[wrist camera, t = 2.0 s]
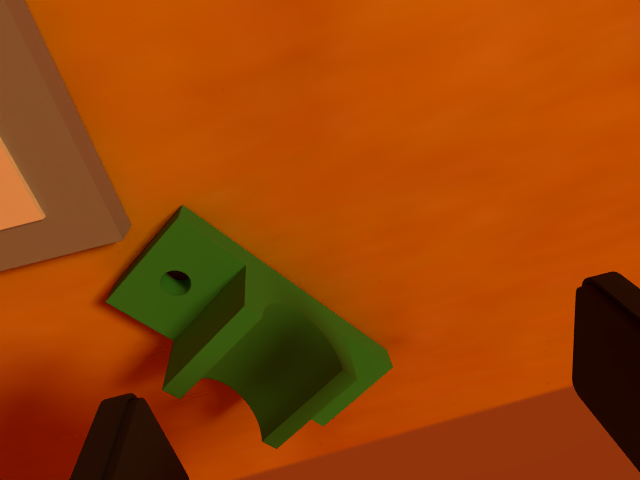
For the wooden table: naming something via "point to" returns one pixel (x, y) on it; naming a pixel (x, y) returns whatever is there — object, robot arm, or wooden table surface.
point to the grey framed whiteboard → (46, 156)
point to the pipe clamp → (246, 329)
